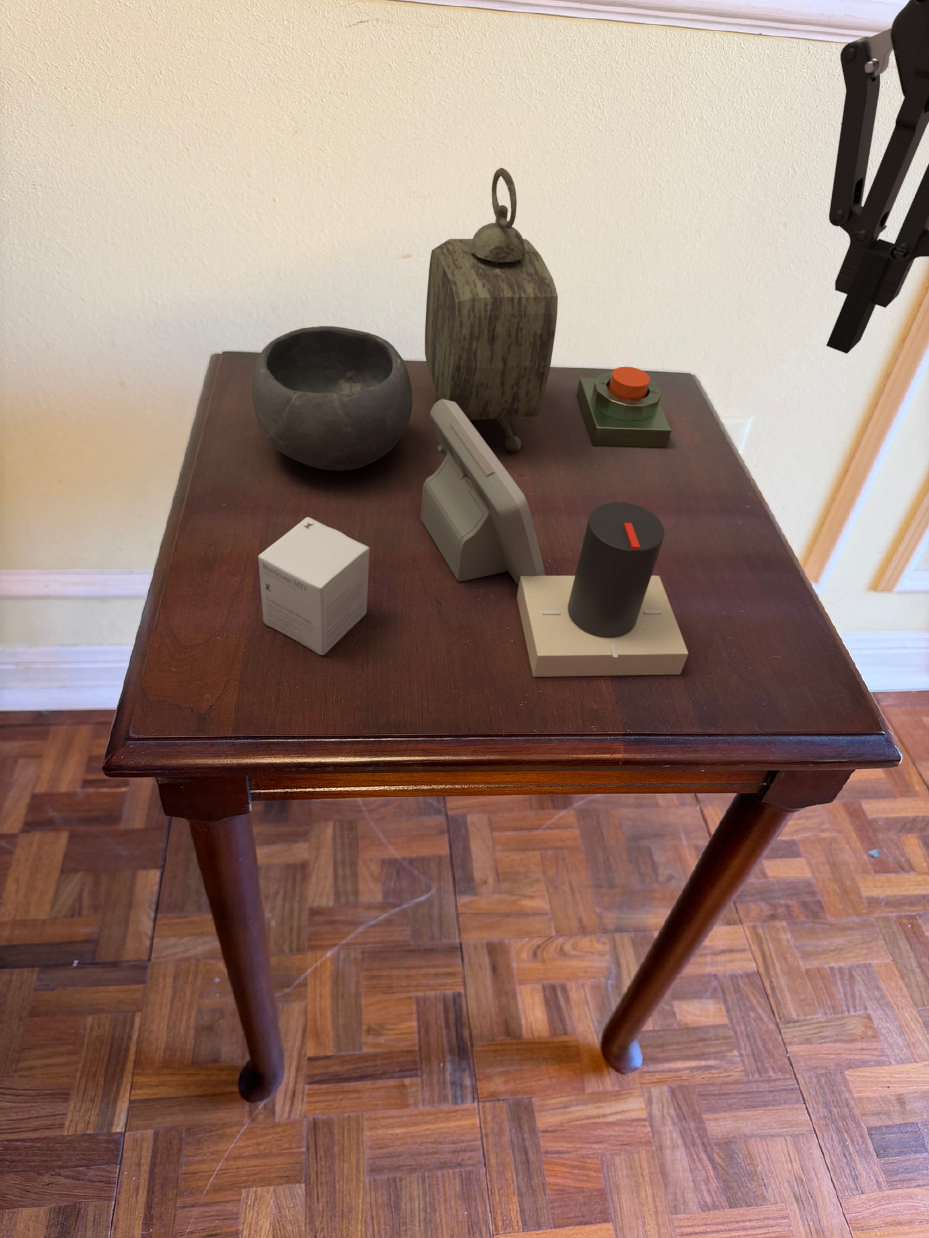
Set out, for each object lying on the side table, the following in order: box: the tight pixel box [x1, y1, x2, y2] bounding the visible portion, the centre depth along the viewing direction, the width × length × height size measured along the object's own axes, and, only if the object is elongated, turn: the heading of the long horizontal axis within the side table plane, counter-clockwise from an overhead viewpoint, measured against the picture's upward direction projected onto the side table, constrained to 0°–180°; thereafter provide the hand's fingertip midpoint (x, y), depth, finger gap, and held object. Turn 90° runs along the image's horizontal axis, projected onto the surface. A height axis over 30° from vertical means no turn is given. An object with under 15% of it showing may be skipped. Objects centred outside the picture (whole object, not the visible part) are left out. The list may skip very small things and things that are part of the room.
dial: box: [568, 501, 666, 638], centre depth 68 cm, size 6×6×9 cm
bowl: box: [251, 325, 413, 472], centre depth 85 cm, size 15×15×10 cm
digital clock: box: [420, 399, 546, 587], centre depth 77 cm, size 16×9×11 cm, turn 12°
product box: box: [257, 516, 371, 656], centre depth 69 cm, size 6×6×7 cm
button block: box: [576, 370, 673, 448], centre depth 96 cm, size 10×8×4 cm
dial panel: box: [516, 575, 689, 678], centre depth 73 cm, size 12×10×3 cm
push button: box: [609, 366, 651, 400], centre depth 94 cm, size 4×4×2 cm
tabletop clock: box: [424, 167, 559, 453], centre depth 85 cm, size 14×9×25 cm, turn 13°
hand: (843, 342), depth 61 cm, fingers closed
